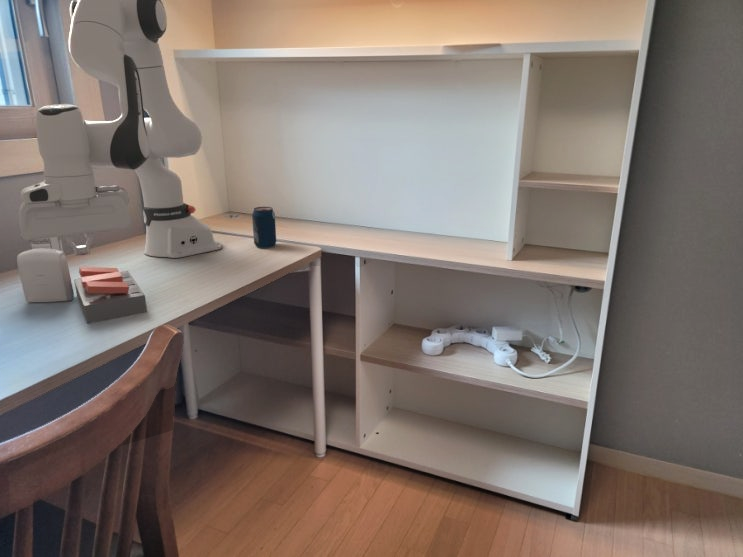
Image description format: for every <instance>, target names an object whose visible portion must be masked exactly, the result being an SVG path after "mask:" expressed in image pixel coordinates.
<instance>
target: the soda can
mask: <svg viewBox="0 0 743 557" xmlns="http://www.w3.org/2000/svg"><path fill="white" fill-rule="evenodd" d="M275 214H276V213H275V210H273V207H271V206H257V207H254V208H253V212H252V214H251V218H252V232H253V243H254V245H255V246H256V248H259V249H271V248H274V247H275V245H276V244H277V232H276V231H277V230H276V215H275Z"/></svg>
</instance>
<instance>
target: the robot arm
mask: <svg viewBox="0 0 743 557" xmlns="http://www.w3.org/2000/svg"><path fill="white" fill-rule="evenodd" d="M69 15H70V20H71V23H70V30H69V36H68V50H69V54H70V56H71V59H72V61H73V62H74V63H75V65H76V66H77V67H79V69H80V70H82V71H83V72H84V73H85V74H87V75H89V76H90V77H92V78H94V79H96V80H99V81H102V82H104V83H108V84H110V85H111V86H114V87H117V88H118V90H117V91H118V100H119V110H120V116H119V117H118V118H117V119H115V120H109V121H106V120H104V121H103V120H102V121H101V120H99V121H97V120H95V121H94V120H92V121H91V120H87V119H84V118H83V115H82V111H81V109H80V106H77V105H75V104H74V105H73V104H70V103H58V104H48V105H45V106H41V108H38V109H37V111H36V117H35V128H36V139H37V146H38V151H39V155H40V157H41V159H42V162H43V179H44V180H43V181H41V182H38V183H35V184H32V185H29V186H26V187H24V188H23V189H22V190H21V192H20V197H21V200H22V201H23V202H22V203H21V205H20V206H19V214H18V215H19V217H18V218H19V231H20V235H21V238H23V239H25V240H26V241H29V240H32V239H42V238H51V237H65V238H64V239H65V241H66V242H67V244H68V245H69V246H70V247H71V248H72V249H73V250H72V251H73V254H74V256H75V257H79V256H86V255H87V256H88V255H91V250H90V247H91V244H92V243H93V241H94V234H95V233H103V232H106V233H107V232H113V231H114V232H115V231H123V230H129V228H130V226H131V225H132V222H131V221H132V220H131V216H130V213H129V209H128V204H129V200H130V199H129V194H128V191H127V190H126V189H125V188H124V187H120V186H119V185H111V186H96V180H95V174H94V170H93V168H95V169H97V168H99V169H100V168H106V169H107V168H108V169H109V168H115V169H116V168H117V169H122V170H132V171H133V170H134V171H135V173H136V175H137V177H138V180H139V181H138V182H139V185H140V190H141V194H142V200H143V205H142V216H143V222H144V225H145V235H146V236H145V246H144V251H143V253H144V254H145V255H146V256H151V257H159V258H171V259H180V258H184V257H188V256H193V255H198V254H202V253H203V254H204V253H207V252H212V251H216V250H217V251H218V250H221V249H222V246H223V245H222V241H220V240H218V239H217V238H215V237H214V234H213V232H212V230H211V227H209V225H208V224H206V223H205V222H203V221H201V220H200V219H199V218H197V217H196V216H193V215H192V214H194V213H195V212H196V210H197V209H196V207H195V206H193V205H189V204H187V203H185V202H184V196H183V187H182V180H181V178H180V177H179V175H178V174H177V173H176V172H174V171H172V170H171V169H168V168H167V167H166V166H165V165H164V164H163V161H162V160H161V158H168V159H171V158H175V159H176V158H178V159H179V158H184V157H190V156H194V155H196V154H198V152H199V150H200V148H201V146H202V142H203V139H202V138H203V137H202V132H201V130H200V128H199V126H198V125H197V124H196V123H195V122H194V121H193V120H192V119H189V118H188V117H187V116H186V114H184V113H183V112H182V111H181V110H180V108H179V107H178V106H177V105H176V103H175V101H174V100H173V96H172V95H171V92H170V88H169V85H168V80H167V76H166V71H165V65H164V60H163V56H162V52H161V48H160V44H159V39H160V38H162V37H163V35H164V34H165V32H166V30H167V26H168V25H167V22H168V21H167V19H168V16H167V11H166V10H165V6H164V4H163V2H162V0H71V2H70V4H69ZM144 111H145V112H146V113H147V115H148V116H149V117H145V115H144V113H145V112H144ZM75 235H77V236H78V235H84V237H85V239H86V241H85V244H82V245H76V244H75V243H74V242H73V241H74V240H75V238H74V236H75Z"/></svg>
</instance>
